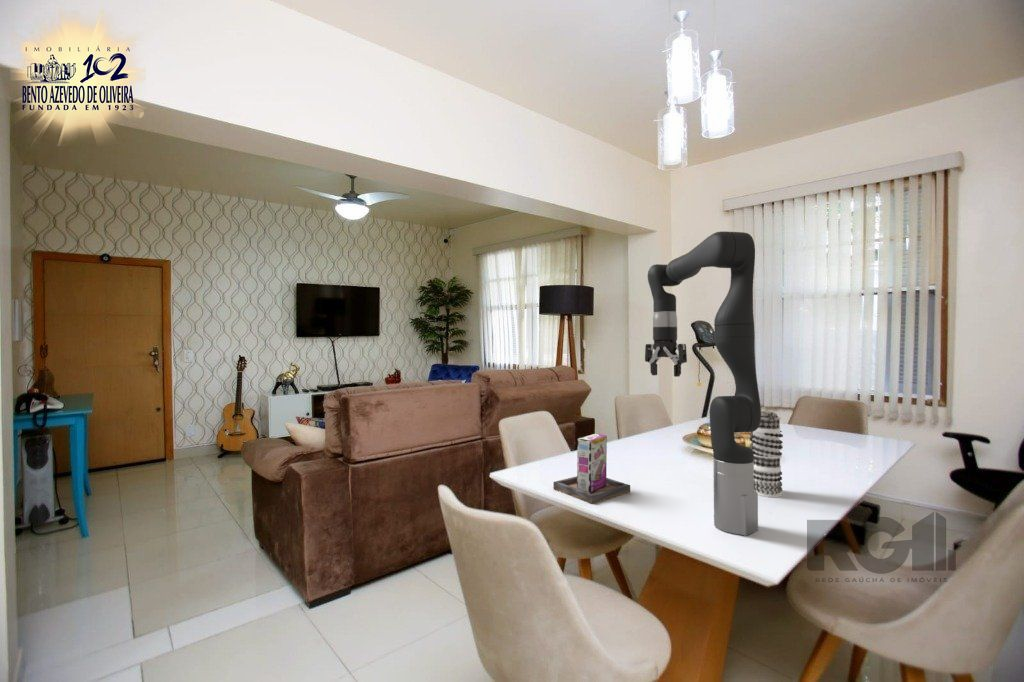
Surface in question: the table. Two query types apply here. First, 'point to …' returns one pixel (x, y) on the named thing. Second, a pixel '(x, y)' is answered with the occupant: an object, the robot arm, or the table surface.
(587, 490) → the candy bar box
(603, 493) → the wooden tray
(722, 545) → the table surface
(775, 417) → the decorative candle
